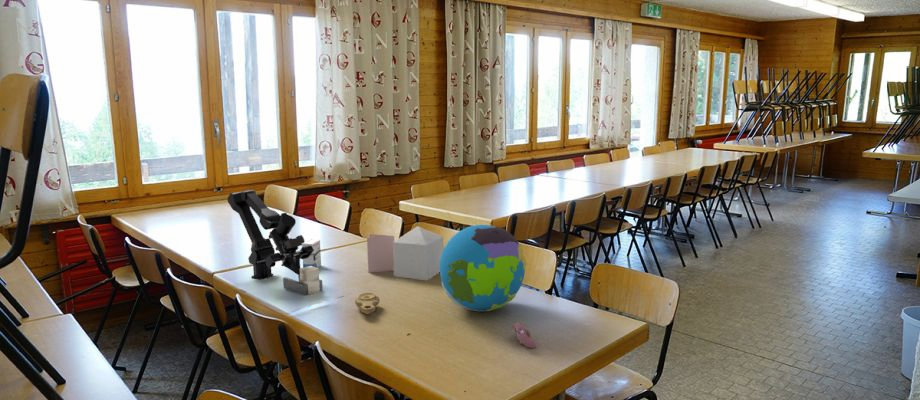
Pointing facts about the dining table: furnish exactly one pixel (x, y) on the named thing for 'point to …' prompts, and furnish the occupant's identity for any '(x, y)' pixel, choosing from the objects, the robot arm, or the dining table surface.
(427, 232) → the decorative block
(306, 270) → the block
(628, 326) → the dining table surface
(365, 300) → the oil lamp
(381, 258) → the greeting card
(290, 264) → the robot arm
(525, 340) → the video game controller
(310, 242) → the ink box
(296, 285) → the chute
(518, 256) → the globe
